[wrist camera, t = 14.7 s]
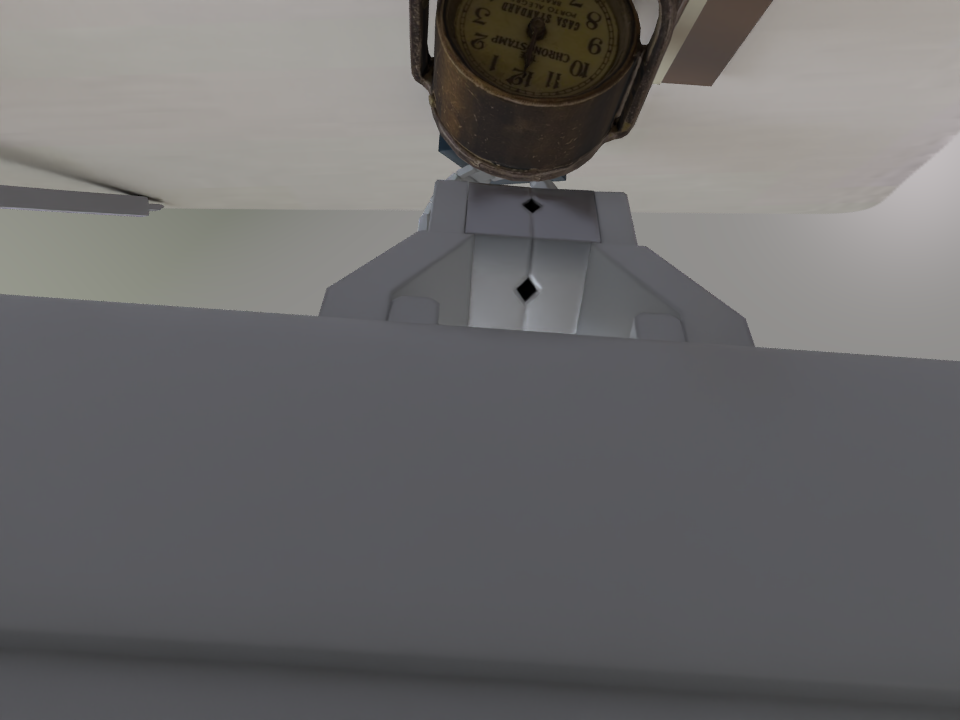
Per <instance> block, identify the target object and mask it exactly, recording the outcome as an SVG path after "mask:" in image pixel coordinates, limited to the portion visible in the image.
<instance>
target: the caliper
mask: <svg viewBox="0 0 960 720" xmlns="http://www.w3.org/2000/svg"><path fill="white" fill-rule="evenodd" d="M0 208H3V209H19V210H36V211H51V212H67V213H85V214H101V215H118V216H136V217H143V216H149V211H156V210H161V208H164V206H163V205H160V204H149V203H148V197H144V196H131V195H118V194H104V193H91V192H78V191H65V190H53V189H41V188H29V187H18V186H6V185H0Z"/></svg>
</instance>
